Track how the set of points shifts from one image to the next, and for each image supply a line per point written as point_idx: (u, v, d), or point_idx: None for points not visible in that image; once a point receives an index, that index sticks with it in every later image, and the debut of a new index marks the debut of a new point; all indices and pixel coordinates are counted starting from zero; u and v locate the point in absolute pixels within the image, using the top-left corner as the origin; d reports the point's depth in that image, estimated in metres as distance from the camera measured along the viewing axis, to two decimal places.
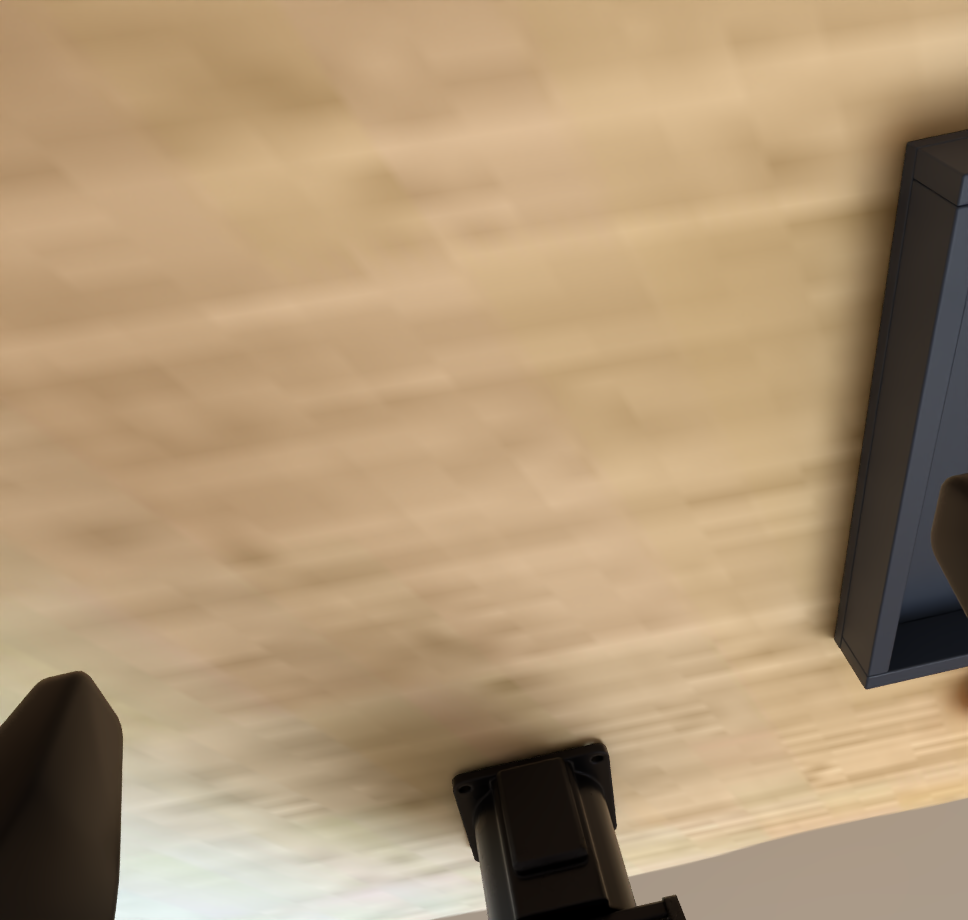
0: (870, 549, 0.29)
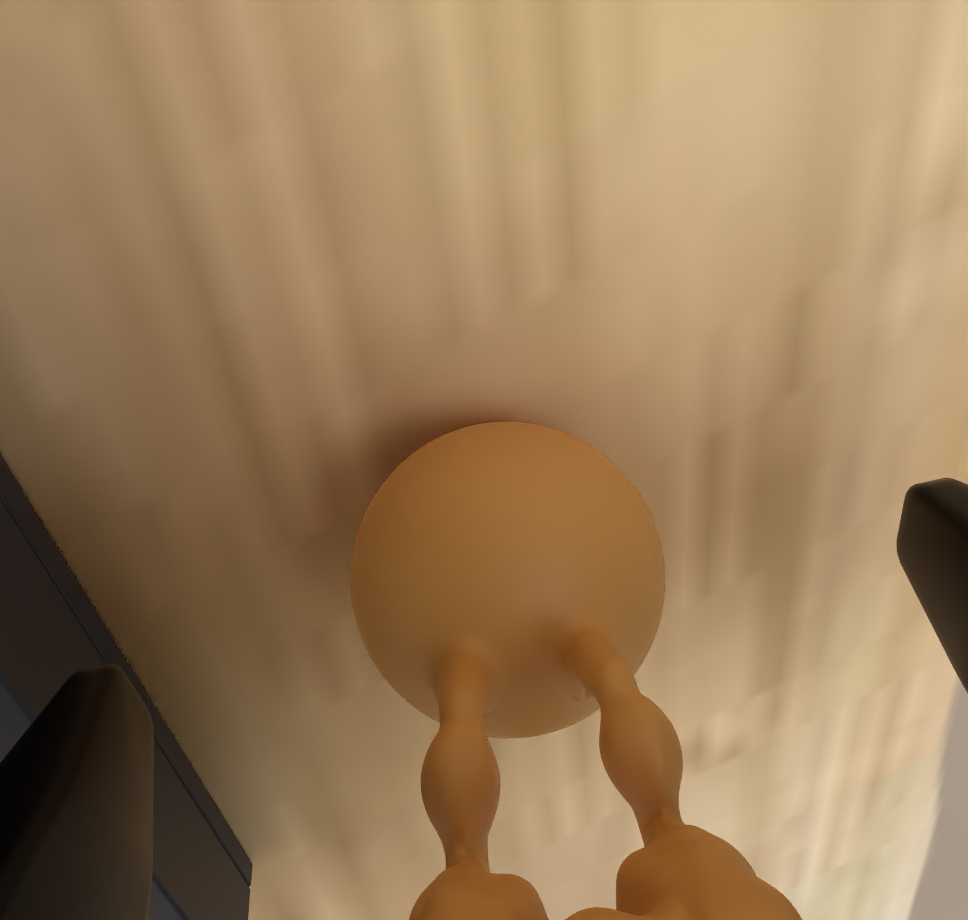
0: None
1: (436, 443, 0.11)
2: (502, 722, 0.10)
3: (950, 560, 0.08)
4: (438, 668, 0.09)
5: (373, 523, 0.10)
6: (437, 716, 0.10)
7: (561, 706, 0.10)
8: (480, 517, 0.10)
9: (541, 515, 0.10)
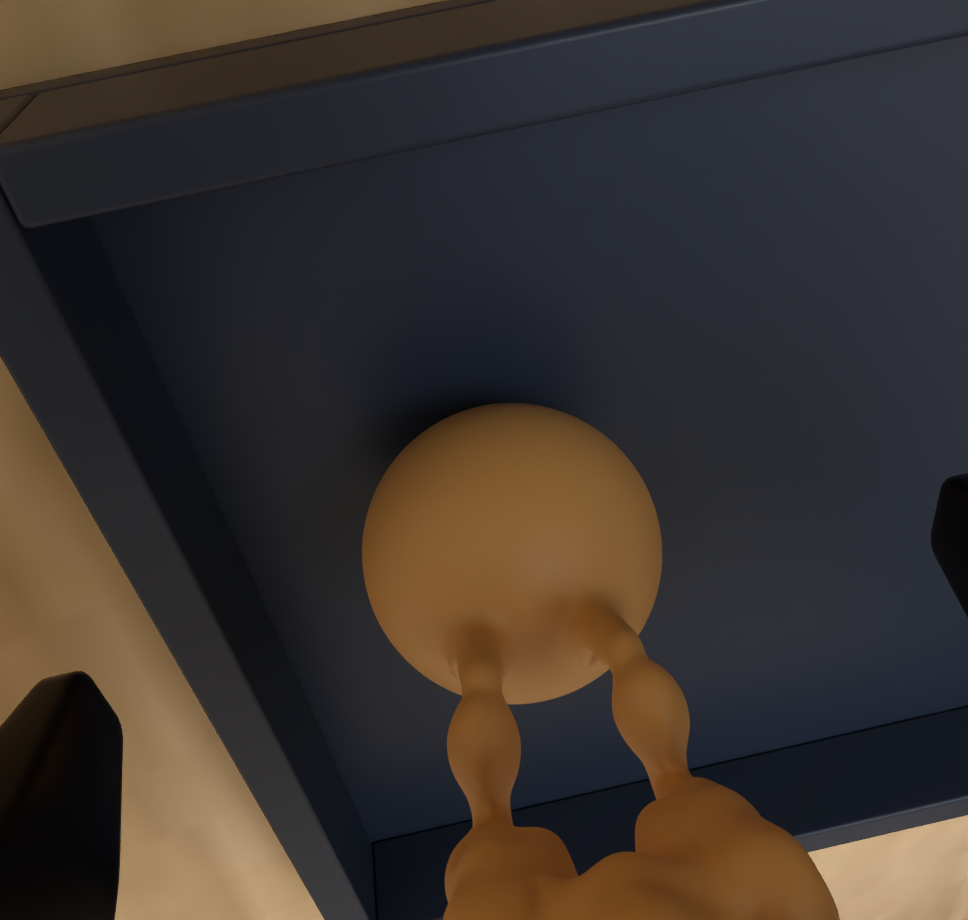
0: None
1: (442, 425, 0.11)
2: (513, 689, 0.11)
3: None
4: (453, 640, 0.10)
5: (385, 503, 0.11)
6: (450, 685, 0.11)
7: (568, 672, 0.10)
8: (489, 496, 0.10)
9: (547, 493, 0.10)
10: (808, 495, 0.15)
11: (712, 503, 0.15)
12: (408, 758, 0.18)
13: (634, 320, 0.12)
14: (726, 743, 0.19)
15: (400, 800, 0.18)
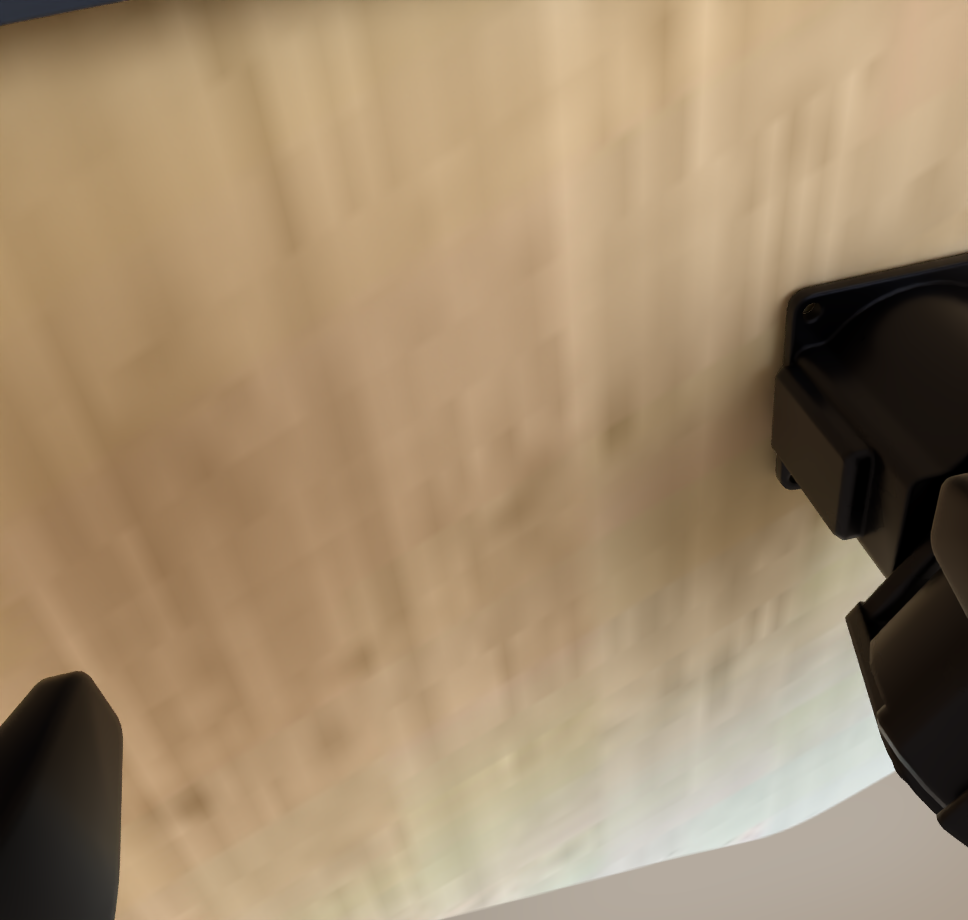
0: None
1: None
2: None
3: None
4: None
5: None
6: None
7: None
8: None
9: None
10: None
11: None
12: None
13: None
14: None
15: None
